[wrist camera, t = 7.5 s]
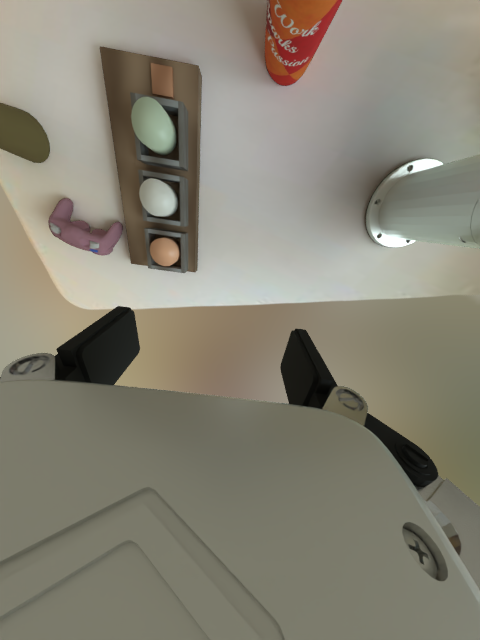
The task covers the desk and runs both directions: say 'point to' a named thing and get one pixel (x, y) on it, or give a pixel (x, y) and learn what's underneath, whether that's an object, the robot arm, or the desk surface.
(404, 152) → the desk surface
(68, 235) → the video game controller
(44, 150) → the olive green skittle
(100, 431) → the robot arm
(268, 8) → the coffee cup
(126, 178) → the board
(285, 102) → the desk surface
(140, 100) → the pale green egg
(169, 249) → the brown egg
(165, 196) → the white egg
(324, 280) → the desk surface
